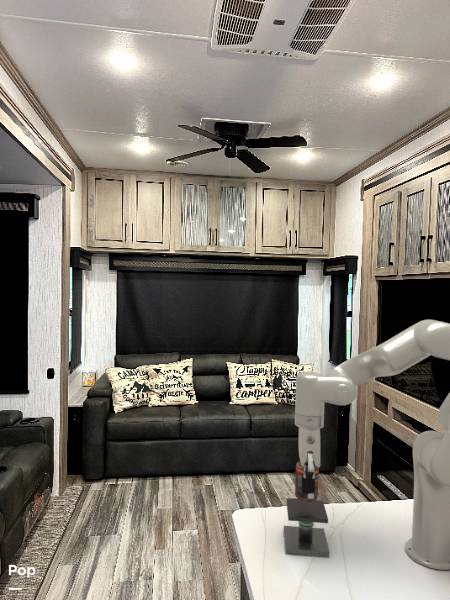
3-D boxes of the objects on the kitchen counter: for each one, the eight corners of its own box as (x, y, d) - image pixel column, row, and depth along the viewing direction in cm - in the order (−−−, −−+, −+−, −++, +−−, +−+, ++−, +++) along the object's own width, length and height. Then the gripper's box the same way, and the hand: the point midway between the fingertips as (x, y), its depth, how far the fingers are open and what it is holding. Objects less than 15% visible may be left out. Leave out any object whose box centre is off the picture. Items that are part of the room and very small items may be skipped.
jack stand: (323, 533, 122) (324, 499, 122) (329, 557, 112) (330, 520, 111) (283, 530, 123) (284, 497, 123) (285, 554, 112) (286, 517, 112)
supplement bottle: (317, 504, 114) (319, 460, 113) (294, 501, 115) (295, 458, 115) (317, 494, 119) (319, 452, 119) (295, 491, 121) (296, 450, 120)
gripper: (328, 430, 108) (325, 503, 108) (319, 411, 125) (317, 474, 125) (297, 429, 108) (294, 501, 109) (292, 409, 126) (290, 472, 126)
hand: (306, 486), depth 117 cm, fingers closed on supplement bottle, 6 cm apart
